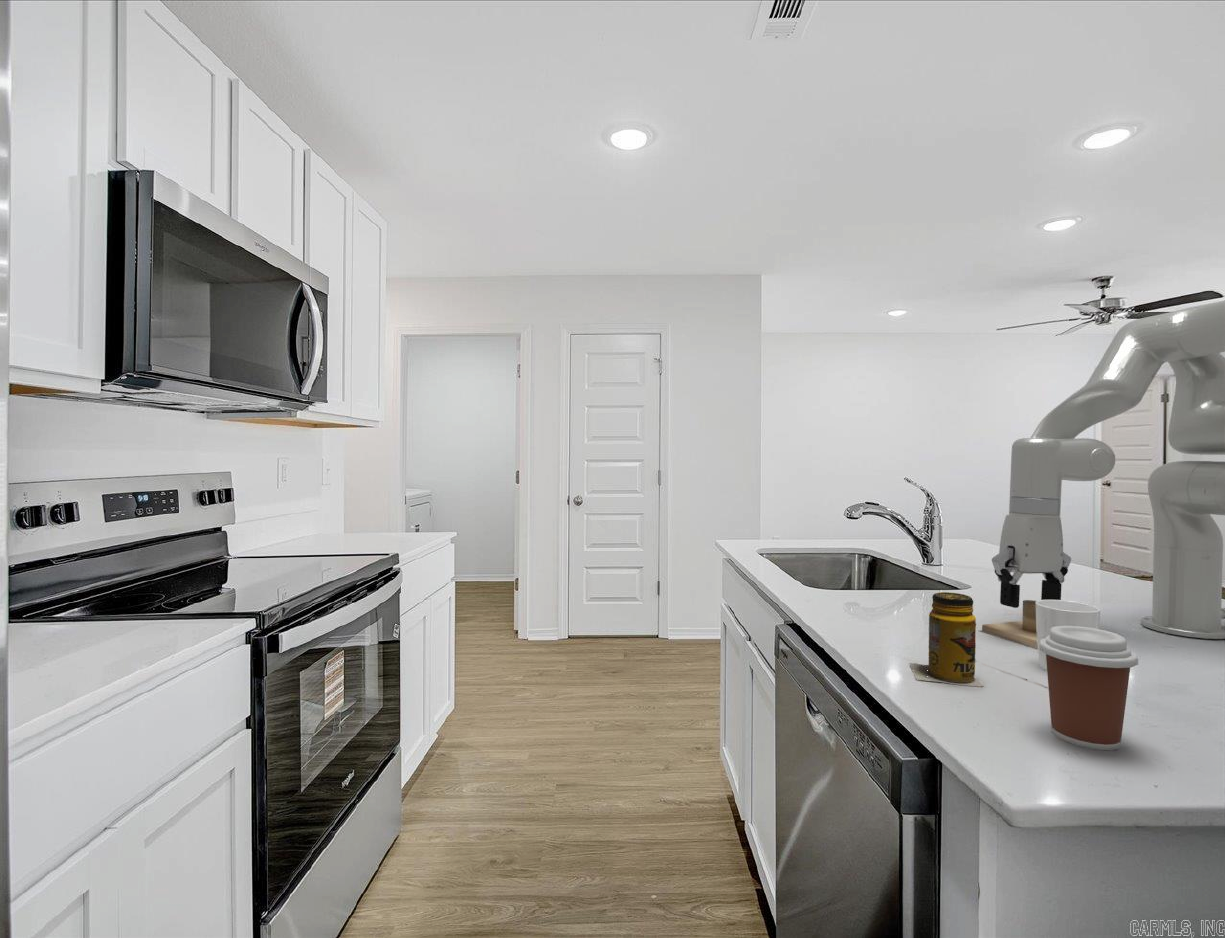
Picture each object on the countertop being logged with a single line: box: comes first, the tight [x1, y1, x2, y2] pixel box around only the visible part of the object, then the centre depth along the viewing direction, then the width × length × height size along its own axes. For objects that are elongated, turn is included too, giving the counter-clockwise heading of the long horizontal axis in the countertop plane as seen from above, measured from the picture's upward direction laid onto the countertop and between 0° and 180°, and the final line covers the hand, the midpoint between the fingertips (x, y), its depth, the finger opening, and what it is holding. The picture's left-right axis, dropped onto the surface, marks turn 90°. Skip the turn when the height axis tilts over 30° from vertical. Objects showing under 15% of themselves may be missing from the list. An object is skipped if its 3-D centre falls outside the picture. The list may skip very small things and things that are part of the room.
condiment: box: [909, 591, 984, 688], centre depth 92 cm, size 7×8×12 cm
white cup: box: [1035, 599, 1101, 671], centre depth 94 cm, size 8×8×10 cm
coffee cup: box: [1039, 626, 1139, 751], centre depth 72 cm, size 9×9×12 cm
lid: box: [981, 599, 1037, 648], centre depth 111 cm, size 11×11×6 cm
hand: (1030, 604), depth 111 cm, fingers open, 9 cm apart
